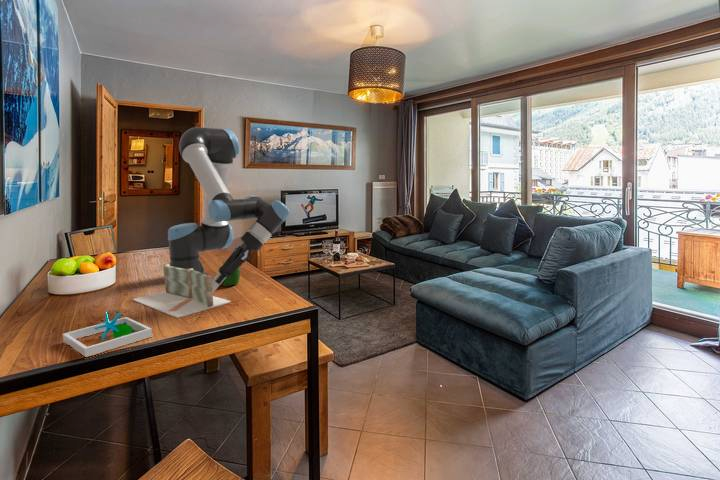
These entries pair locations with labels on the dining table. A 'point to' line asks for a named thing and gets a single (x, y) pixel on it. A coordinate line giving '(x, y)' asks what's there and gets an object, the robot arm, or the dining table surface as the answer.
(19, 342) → the dining table surface
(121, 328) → the stick construction toy
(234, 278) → the bell pepper
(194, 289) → the folding fence panel
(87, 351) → the grey storage tray
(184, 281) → the fixed fence section
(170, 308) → the card
